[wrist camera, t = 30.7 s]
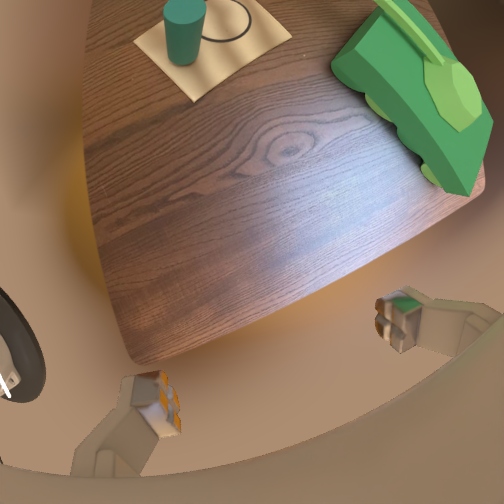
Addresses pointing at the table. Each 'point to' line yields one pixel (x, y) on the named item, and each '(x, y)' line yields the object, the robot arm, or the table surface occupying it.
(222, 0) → the board
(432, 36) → the toy tank
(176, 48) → the dot marker
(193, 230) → the table surface
